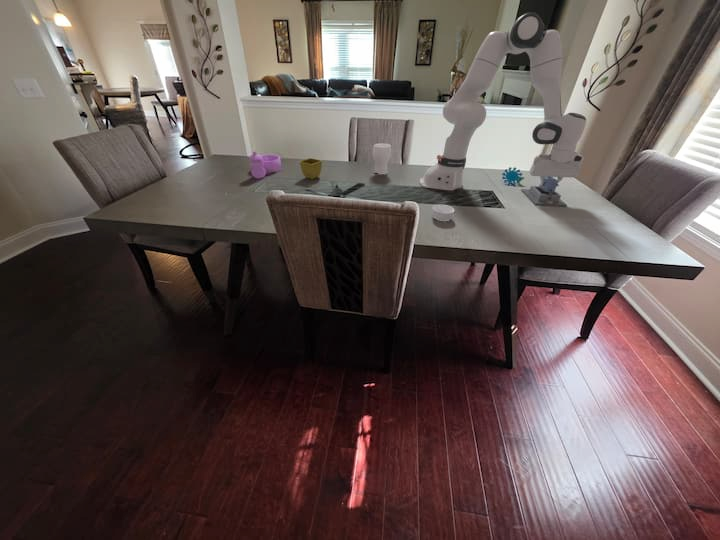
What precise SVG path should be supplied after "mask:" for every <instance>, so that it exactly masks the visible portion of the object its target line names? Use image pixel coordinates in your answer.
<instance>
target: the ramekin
mask: <svg viewBox="0 0 720 540" xmlns="http://www.w3.org/2000/svg"><path fill="white" fill-rule="evenodd" d="M454 212H455V208H454V207H452V206H450V205H448V204H435V205H433V206H432V214H431V217H432V216H433V217H434V218H436V219H438V220H443V221H445V220H450V219H451V218H453V215H454ZM451 220H452V219H451ZM451 220H450V221H451Z"/></svg>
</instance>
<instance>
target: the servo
mask: <svg viewBox="0 0 720 540" xmlns="http://www.w3.org/2000/svg"><path fill="white" fill-rule="evenodd" d="M544 181H545V182H546V183H545V185H544V186H541V185H540V184H538V186H539V187H540V188H542V189H543V190H544V191H545V192H554V191H556V189H557V187H559V186H560V184H559V183H560V182H559V181H557V179H556V177H545V179H544ZM558 182H559V183H558Z"/></svg>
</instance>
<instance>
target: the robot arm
mask: <svg viewBox="0 0 720 540" xmlns="http://www.w3.org/2000/svg"><path fill="white" fill-rule="evenodd" d="M562 45H563V44H562V39H561V34H560V32H559V31H558V29H557V30H556V29H548V28H547V25H546V24H545V23H544V22H543V20H542V18H541V17H540V14H537V13H536V12H527V13H524V14H523V15H521V16H519V17H518V18H517V19H516V20H515V21H514V23H513V24H512V26H511V27H510V28H509V29H507V31H505V32H504V31H501V30H495V31H491V32H490V33H488V35H486V37H485V38H484V41H482V43H481V45H480V47H479V48H478V51H477V53H476V54H475V56H474V59H473V61H472V63H471V65H470V67H469V70H468V72H467V74H466V76H465V78H464V80H463V82H462V83H461V85H460V87H459V88H458V90H457V91H456V92H455V93H454V95H453V96H452V97H451V98H450V99H449V100H447V102H445V104H444V105H443V108H442V116H443V118H444V119H445V120H446V121H447V122H448V123H449V124H452V125H454V126H453V129H452V131H451V134H450V135H448V136H447V138H446V140H445V144H444V149H443V153H442V154H443V155H441V154H437V156H436V160H437V163H435V164H434V165H432V166H431V167H428V168H427V170H426V172H425V173H424V176H422V177H420V178H419V185H420V186H421V187H423V188H427V189H435V190H441V191H442V190H444V191H455V190H456V189H461V188H462V187H463V176H464V175H463V173H464V169H465V167H466V163H467V154H468V153H467V152H468V149H469V147H470V146H469V145H470V142H471V139H472V138H473V136H474V133H475V131H476V130H477V129H478V128H479V127H481V126H483V125H482V124H483V123H484V122H485V120H486V118H487V109H486V106H484V105H483V104H482V103H480V102H479V101H478V99H479V98H480V97H481V95H483V93H485V92H487V91H488V89H489V88H490V87H491V84H492V82H493V80H494V79H495V77H496V74H497V72H498V70H499V68H500V66H501V64H502V61H503V60H504V59H505V56H507V57H508V56H509V57H510V56H514V57H515V56H520V55H521V54H524V53H526V54H527V55H528V58H529V61H530V62H529V67H530V68H529V72H530V73H529V76H530V80H531V84H532V87H533V88H534V89H535V90H536V91H537V92H538V93H539V94H540V96H541V97H542V101H543V103H542V104H543V115H544V116H543V117H544V118H543V121H542V122H540V123H538V124H536V126H535V128H533V131H532V134H531V135H532V140H533V142H534V143H536V144H538V145H552V147H551V149H550V151H549V154H543V153H542V154H539V155H537V156H535V157H534V159H533V163H532V164H531V167H530V169H529V171H528V172H529V175H531V177H532V176H533V177H539V179H540V183H539V185H541V186H544V185H545V183H546V182H545V181H544V179H545V177H553V178H557V179H556V180H557V181H559V182H558V184H559V183H560V182H561V181H562V180H563V179H564V178H574V179H575V178H577V176H579V174H580V171H581V169H582V165H583V161H584V160H585V157H584V156H583V155H582V154H580V153H578V152H576V149H577V145H578V142H579V141H580V140H581V138H582V136H583V134H584V131H585V128H586V124H587V118H586V116H584V115H583V114H580V113H576V112H568V113H566V114H565V115H563V113H562V103H561V100H562V99H561V98H562V97H561V85H562V83H561V82H562V72H563V46H562Z"/></svg>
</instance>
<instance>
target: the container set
mask: <svg viewBox="0 0 720 540" xmlns="http://www.w3.org/2000/svg"><path fill="white" fill-rule="evenodd" d="M251 153H252V154H251V155H249V157H248V159H249V165H250V167H251V175H252V176H253V177H254V179H263V178H265V176H266V174H272V173H271V172H275V173H277V171H278V172H280V171H282V170H283V169H282V168H283V167H282V162H281V161H282V160H281V156H279V155H278V154H277V155H276V154H262V155H261V154H259V153H258V151H252V152H251ZM279 170H280V171H279ZM262 177H263V178H262Z"/></svg>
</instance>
